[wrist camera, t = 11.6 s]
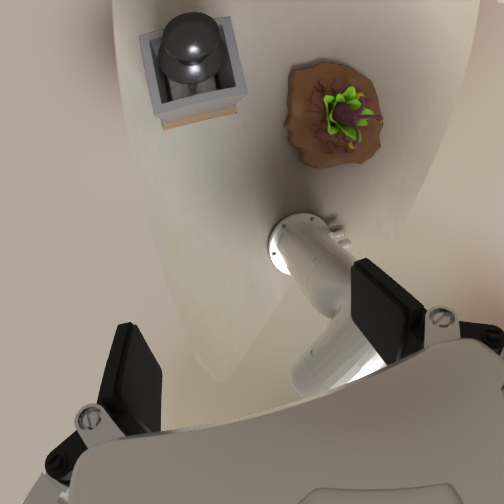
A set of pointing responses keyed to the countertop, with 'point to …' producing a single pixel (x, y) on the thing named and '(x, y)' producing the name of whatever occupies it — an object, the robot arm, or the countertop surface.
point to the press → (202, 104)
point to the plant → (332, 115)
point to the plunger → (191, 54)
